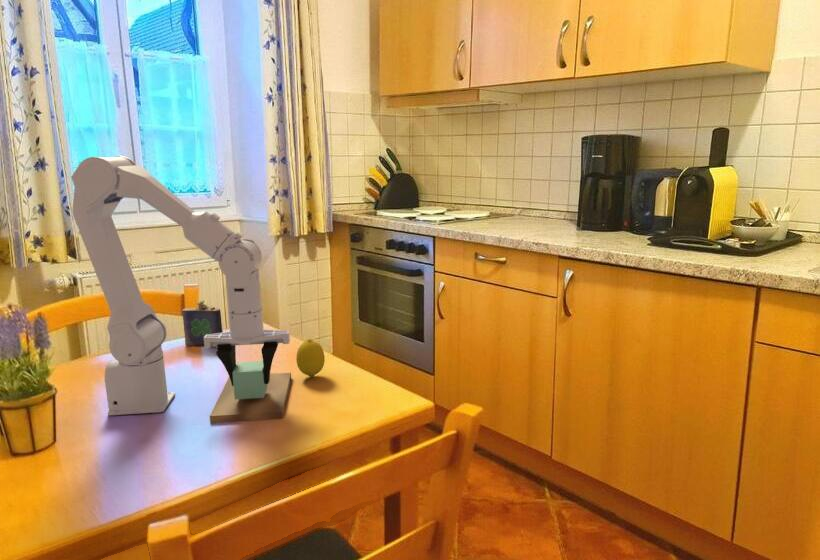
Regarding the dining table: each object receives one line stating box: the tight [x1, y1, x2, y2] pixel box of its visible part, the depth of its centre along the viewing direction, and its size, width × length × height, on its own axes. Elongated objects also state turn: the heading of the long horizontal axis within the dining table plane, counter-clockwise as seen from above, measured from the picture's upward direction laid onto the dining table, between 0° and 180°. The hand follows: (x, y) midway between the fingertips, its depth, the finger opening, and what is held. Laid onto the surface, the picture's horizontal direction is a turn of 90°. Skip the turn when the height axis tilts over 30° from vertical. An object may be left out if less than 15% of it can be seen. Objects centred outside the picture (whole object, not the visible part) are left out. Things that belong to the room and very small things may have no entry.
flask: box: [181, 300, 224, 348], centre depth 138 cm, size 9×3×11 cm, turn 84°
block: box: [232, 360, 267, 399], centre depth 106 cm, size 5×5×5 cm
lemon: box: [295, 338, 326, 378], centre depth 118 cm, size 6×6×8 cm
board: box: [209, 372, 292, 424], centre depth 109 cm, size 12×18×1 cm, turn 6°
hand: (251, 382), depth 106 cm, fingers closed on block, 5 cm apart
